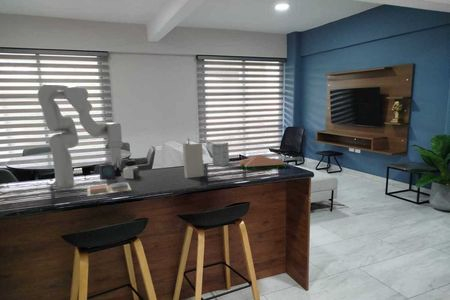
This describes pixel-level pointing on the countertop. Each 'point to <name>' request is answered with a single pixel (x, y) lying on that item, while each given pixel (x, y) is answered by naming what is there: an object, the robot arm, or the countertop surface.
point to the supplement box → (220, 154)
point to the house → (260, 162)
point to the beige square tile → (119, 186)
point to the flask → (106, 171)
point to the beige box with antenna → (193, 160)
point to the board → (109, 190)
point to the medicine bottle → (130, 170)
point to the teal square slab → (98, 189)
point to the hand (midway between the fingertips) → (118, 176)
